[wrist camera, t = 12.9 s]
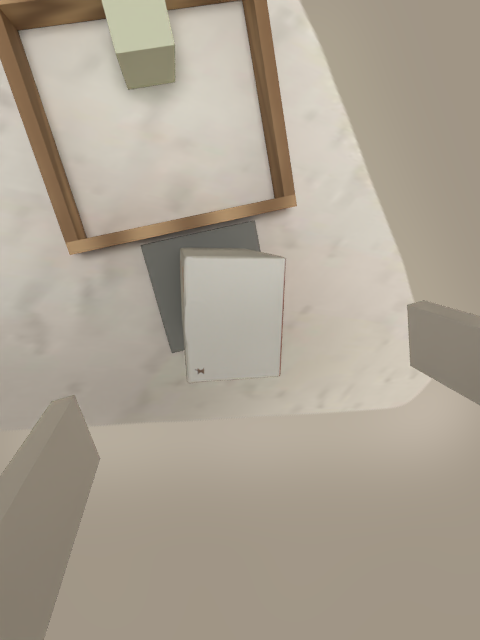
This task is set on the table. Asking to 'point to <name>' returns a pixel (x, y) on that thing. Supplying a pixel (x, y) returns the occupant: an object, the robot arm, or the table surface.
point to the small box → (231, 313)
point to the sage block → (142, 41)
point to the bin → (4, 43)
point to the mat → (166, 269)
